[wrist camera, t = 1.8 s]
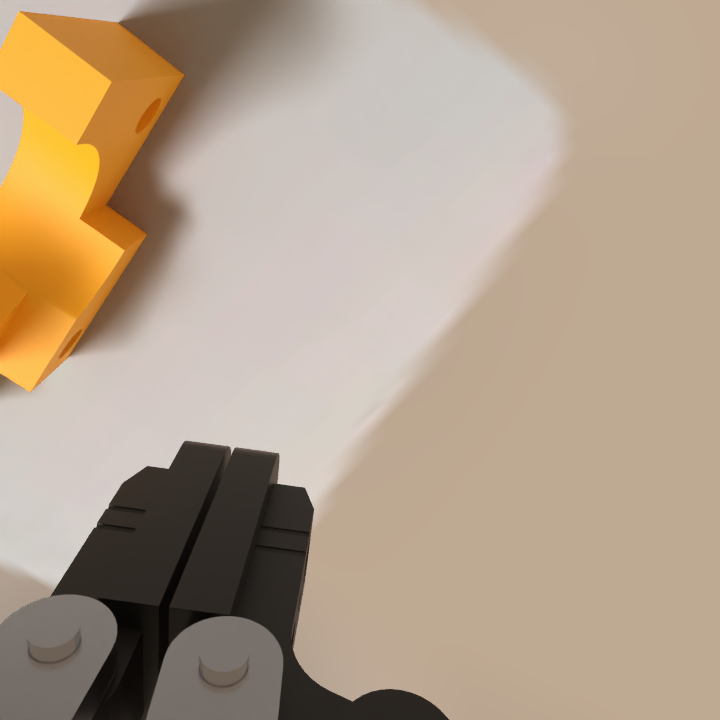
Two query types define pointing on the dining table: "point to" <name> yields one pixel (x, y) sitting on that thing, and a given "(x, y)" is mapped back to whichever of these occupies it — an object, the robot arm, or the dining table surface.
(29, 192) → the pipe clamp
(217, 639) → the robot arm
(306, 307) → the dining table surface
